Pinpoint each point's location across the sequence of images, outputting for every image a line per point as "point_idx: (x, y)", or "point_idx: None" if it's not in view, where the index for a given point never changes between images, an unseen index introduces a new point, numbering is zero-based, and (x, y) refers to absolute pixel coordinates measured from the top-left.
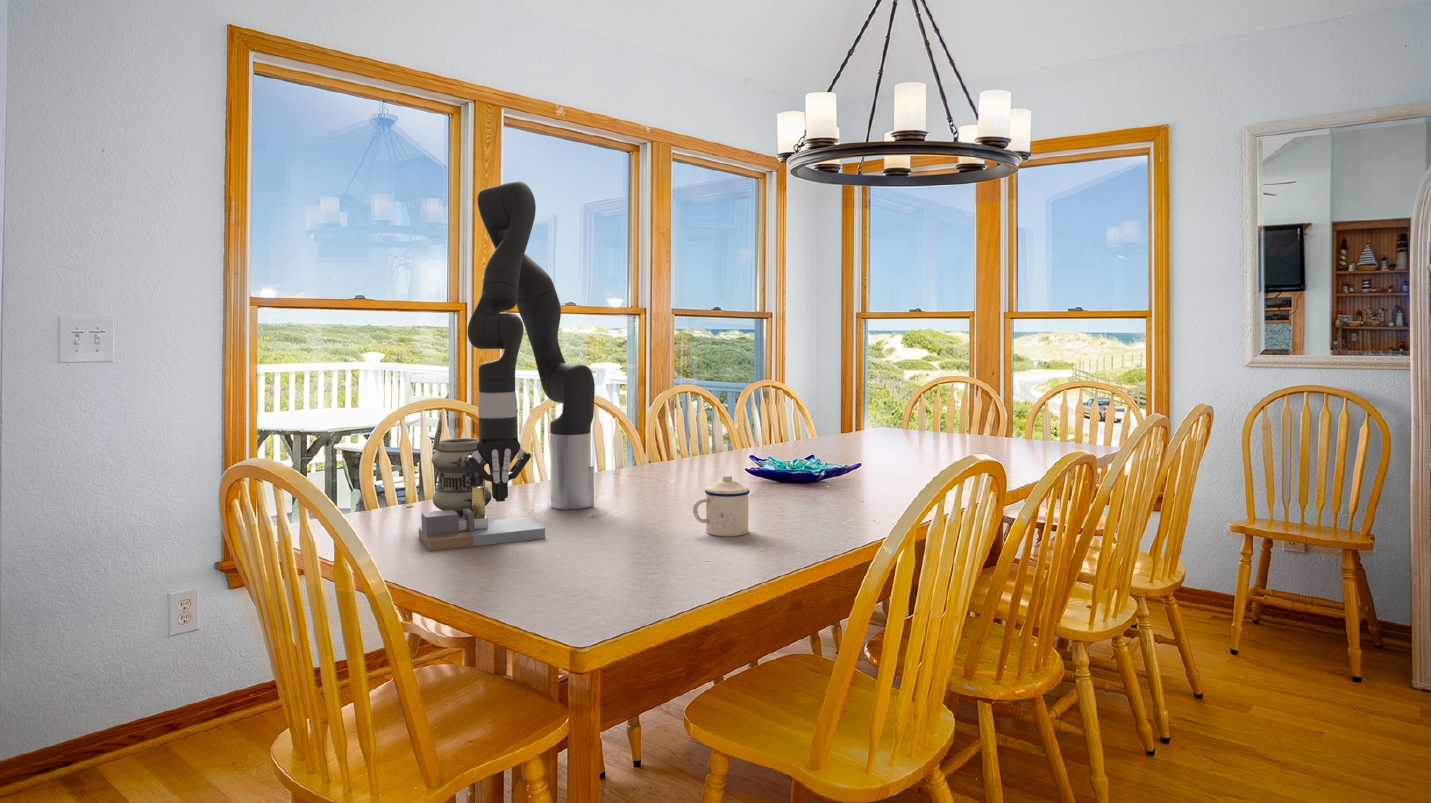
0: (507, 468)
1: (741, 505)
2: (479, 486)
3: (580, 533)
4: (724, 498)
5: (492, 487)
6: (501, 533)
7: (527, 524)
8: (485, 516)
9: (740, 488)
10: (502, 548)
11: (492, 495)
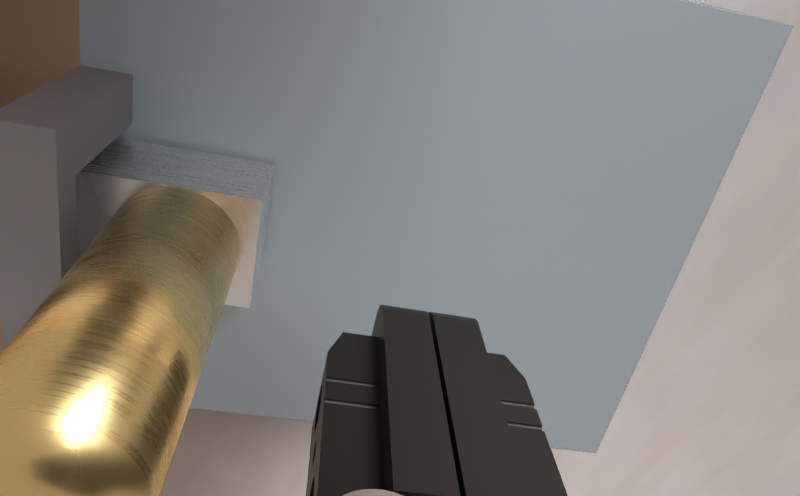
0: None
1: None
2: (79, 436)
3: (796, 413)
4: None
5: (315, 473)
6: (295, 417)
7: (582, 301)
8: (252, 236)
9: None
10: (255, 469)
11: (324, 370)
